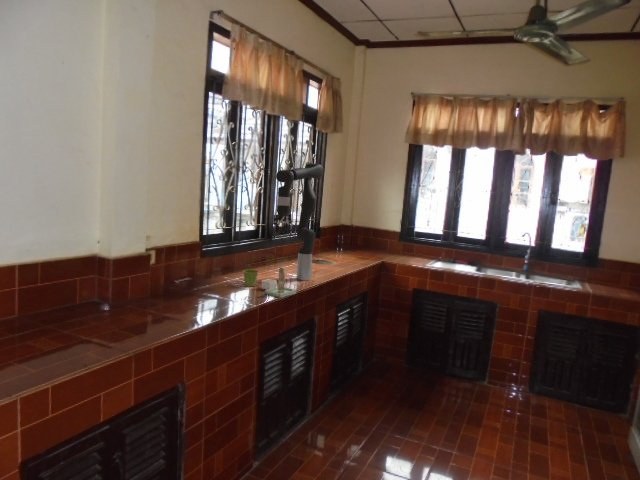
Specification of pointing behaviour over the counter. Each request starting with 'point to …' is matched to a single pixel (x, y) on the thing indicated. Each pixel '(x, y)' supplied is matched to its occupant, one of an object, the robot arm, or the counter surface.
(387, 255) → the counter surface
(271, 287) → the white open box
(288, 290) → the tray
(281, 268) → the dowel
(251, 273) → the plant pot
